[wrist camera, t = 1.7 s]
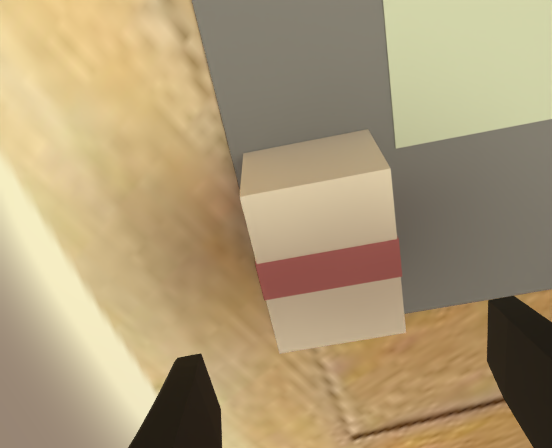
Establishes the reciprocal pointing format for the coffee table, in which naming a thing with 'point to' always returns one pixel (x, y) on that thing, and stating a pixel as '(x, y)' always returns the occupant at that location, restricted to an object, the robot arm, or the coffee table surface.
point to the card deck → (325, 240)
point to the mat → (410, 121)
